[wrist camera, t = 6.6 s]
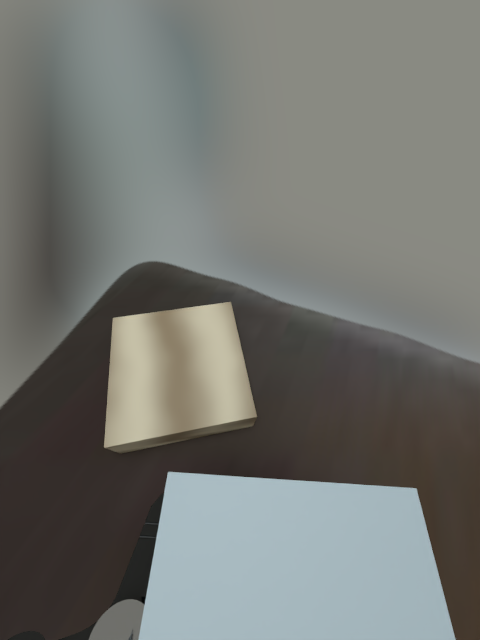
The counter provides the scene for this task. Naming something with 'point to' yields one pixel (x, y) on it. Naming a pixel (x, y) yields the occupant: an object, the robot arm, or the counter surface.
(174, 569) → the grey rectangular block
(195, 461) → the counter surface
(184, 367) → the beech block
